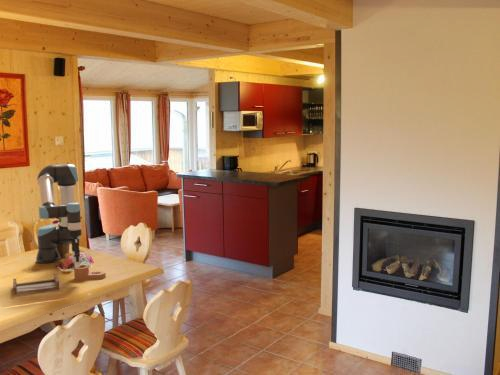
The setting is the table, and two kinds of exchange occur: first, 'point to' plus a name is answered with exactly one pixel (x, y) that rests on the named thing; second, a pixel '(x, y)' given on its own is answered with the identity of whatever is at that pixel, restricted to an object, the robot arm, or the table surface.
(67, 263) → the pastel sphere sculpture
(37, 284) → the wooden window with sill
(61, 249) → the flowerpot
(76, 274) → the bracket
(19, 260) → the table surface
